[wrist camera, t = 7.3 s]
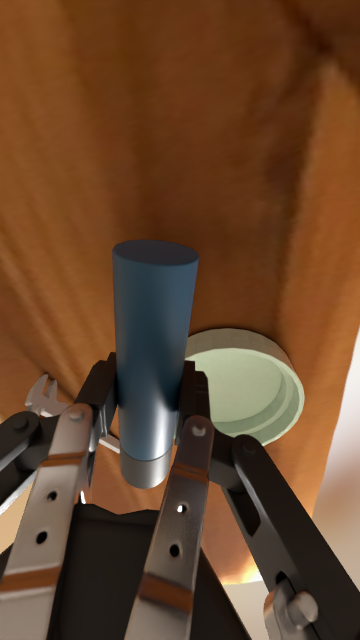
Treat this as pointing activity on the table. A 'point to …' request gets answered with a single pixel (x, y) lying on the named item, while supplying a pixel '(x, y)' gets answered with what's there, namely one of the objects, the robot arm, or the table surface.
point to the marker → (150, 350)
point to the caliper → (56, 407)
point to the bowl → (247, 383)
